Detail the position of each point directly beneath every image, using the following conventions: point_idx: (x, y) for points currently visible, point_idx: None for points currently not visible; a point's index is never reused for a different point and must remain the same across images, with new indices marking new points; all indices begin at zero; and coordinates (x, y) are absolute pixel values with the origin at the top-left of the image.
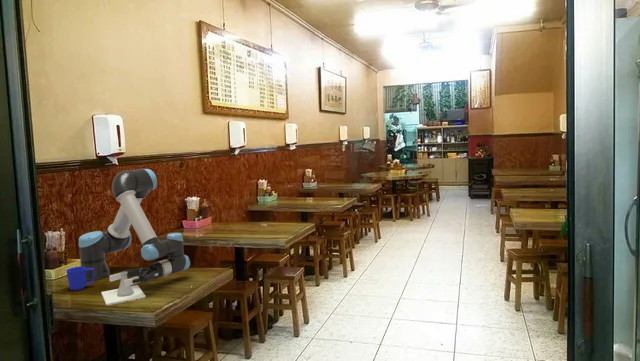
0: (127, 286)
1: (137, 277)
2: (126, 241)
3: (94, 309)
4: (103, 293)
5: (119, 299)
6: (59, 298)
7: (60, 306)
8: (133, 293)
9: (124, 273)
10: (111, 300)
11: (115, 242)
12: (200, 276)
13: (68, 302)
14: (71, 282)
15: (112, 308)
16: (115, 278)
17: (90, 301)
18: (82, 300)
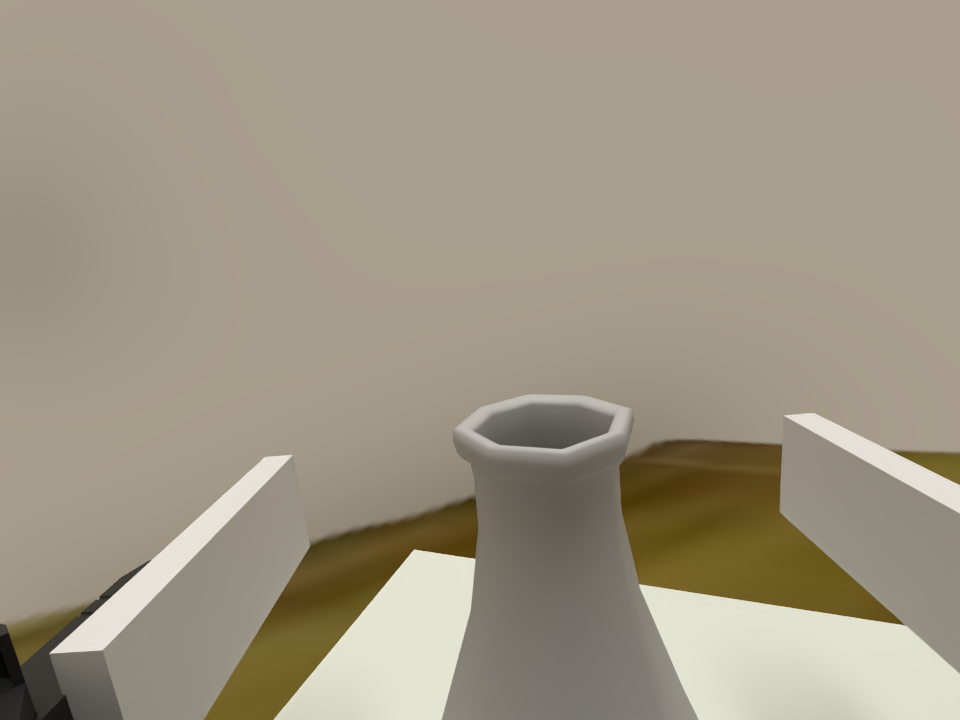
0: (450, 692)
1: (90, 625)
2: None
3: (435, 509)
4: (864, 631)
5: (405, 655)
6: (939, 453)
7: (698, 441)
8: None
9: (468, 419)
10: (466, 598)
11: None
12: None
13: (768, 465)
14: None
15: (303, 571)
16: (842, 530)
17: (675, 532)
18: (760, 510)
